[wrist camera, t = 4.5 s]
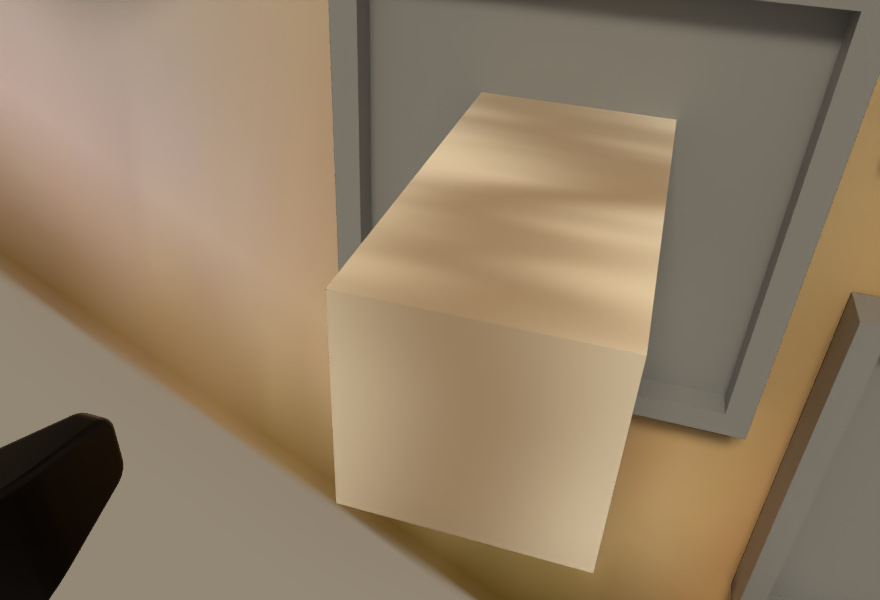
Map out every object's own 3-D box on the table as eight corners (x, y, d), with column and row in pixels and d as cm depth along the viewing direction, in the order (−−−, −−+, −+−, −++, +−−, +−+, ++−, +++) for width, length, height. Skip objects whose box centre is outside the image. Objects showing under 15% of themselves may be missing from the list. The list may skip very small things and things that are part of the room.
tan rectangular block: (676, 119, 15) (646, 355, 9) (638, 291, 17) (592, 576, 11) (481, 92, 16) (326, 288, 10) (469, 259, 18) (336, 506, 12)
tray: (900, -37, 13) (914, -23, 12) (744, 406, 19) (745, 439, 18) (349, -88, 15) (325, -80, 14) (358, 323, 21) (341, 348, 20)
